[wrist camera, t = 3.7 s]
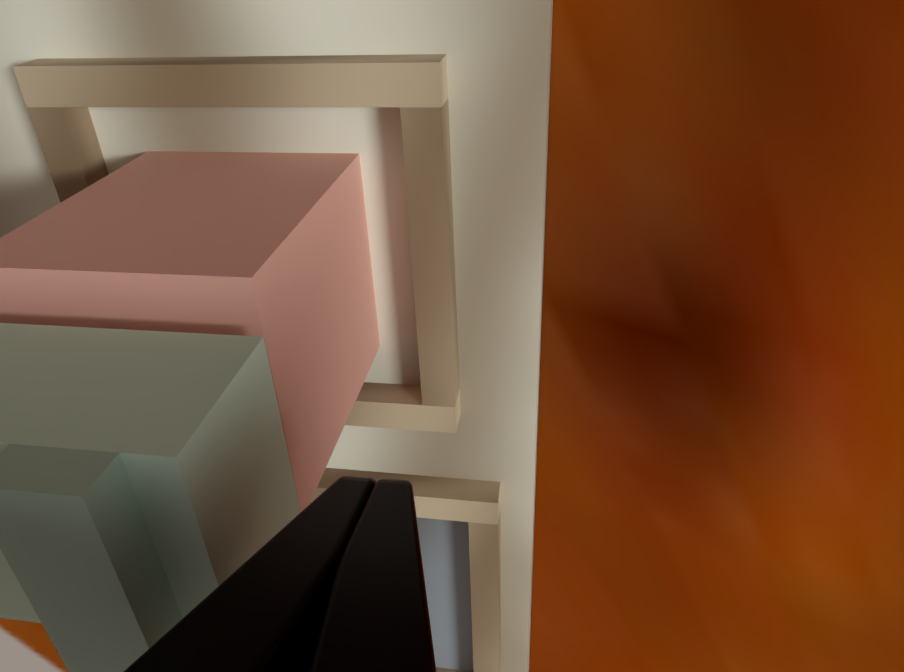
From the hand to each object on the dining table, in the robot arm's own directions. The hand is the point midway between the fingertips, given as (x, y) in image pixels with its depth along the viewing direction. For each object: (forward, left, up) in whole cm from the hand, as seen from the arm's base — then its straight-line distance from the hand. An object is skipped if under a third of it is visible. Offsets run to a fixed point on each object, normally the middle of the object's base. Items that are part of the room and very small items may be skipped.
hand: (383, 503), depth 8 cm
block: (+4, 0, -6) cm, 8 cm away
